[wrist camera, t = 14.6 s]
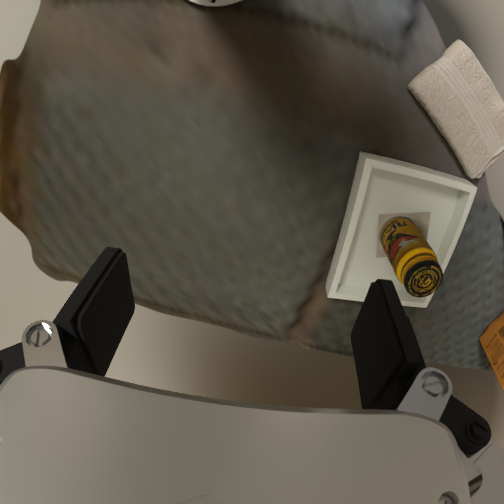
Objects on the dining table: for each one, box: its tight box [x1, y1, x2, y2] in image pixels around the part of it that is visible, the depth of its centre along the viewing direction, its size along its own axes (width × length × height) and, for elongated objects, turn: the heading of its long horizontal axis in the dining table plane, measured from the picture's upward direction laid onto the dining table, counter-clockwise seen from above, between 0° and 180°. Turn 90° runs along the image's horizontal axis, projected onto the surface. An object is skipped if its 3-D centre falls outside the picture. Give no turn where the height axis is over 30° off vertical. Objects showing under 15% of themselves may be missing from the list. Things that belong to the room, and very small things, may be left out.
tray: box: [325, 151, 477, 308], centre depth 44 cm, size 22×18×4 cm
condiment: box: [376, 212, 443, 298], centre depth 40 cm, size 7×8×12 cm
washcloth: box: [407, 40, 504, 179], centre depth 33 cm, size 12×18×3 cm, turn 48°
